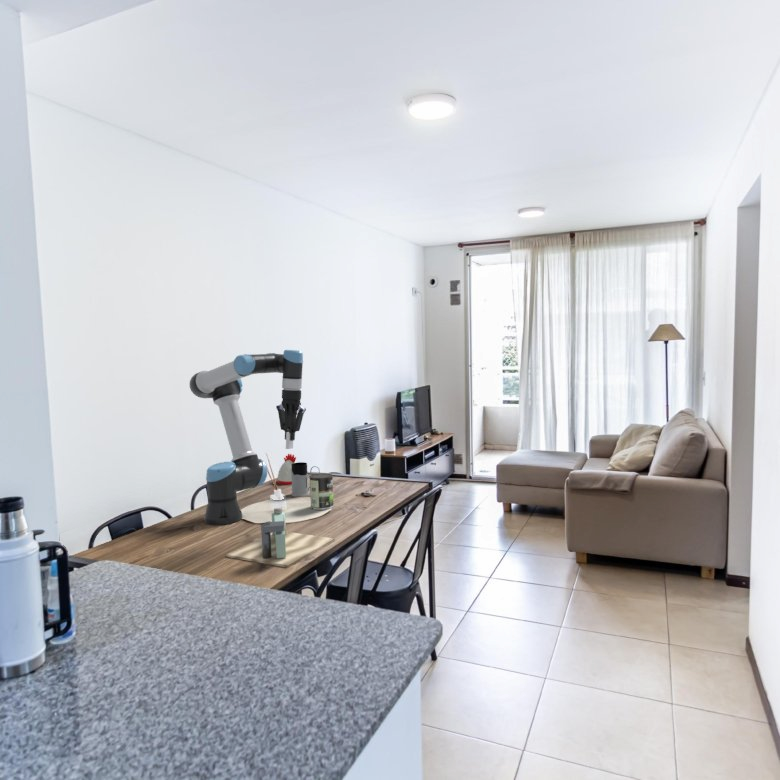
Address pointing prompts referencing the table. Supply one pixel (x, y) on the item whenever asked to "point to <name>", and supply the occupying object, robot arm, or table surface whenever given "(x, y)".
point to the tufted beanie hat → (286, 470)
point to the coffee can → (321, 491)
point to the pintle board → (295, 548)
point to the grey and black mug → (300, 479)
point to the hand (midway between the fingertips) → (289, 448)
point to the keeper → (269, 536)
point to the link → (280, 535)
